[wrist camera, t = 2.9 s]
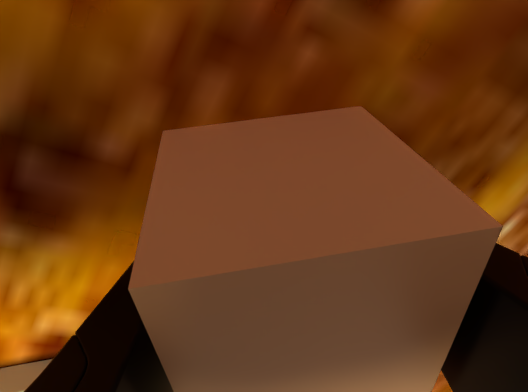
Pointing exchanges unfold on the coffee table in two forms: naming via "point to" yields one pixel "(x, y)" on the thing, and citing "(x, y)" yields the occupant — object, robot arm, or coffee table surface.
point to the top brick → (304, 257)
